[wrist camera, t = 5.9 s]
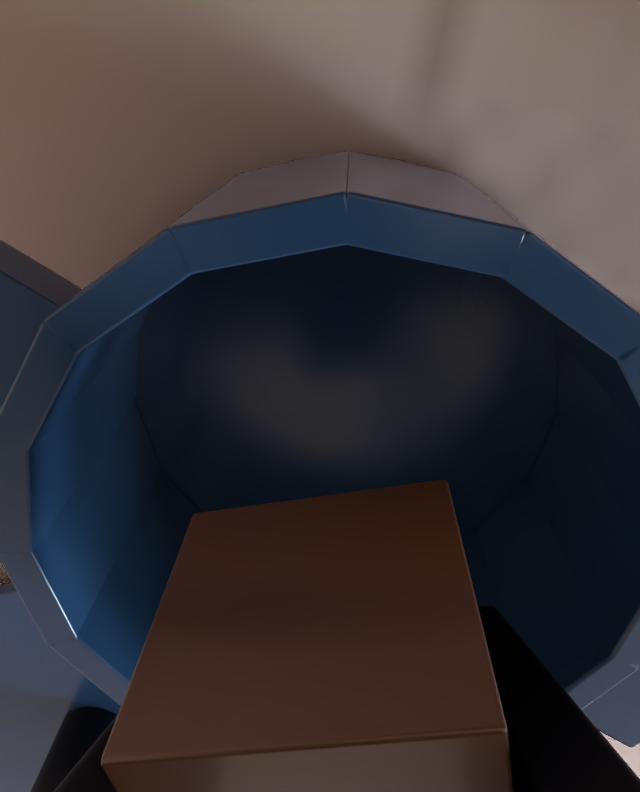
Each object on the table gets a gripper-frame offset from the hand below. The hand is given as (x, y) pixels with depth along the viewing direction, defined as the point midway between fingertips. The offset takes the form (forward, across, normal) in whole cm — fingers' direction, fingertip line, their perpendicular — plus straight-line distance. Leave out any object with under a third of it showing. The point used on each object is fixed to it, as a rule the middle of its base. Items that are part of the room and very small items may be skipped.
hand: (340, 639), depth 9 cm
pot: (+8, 0, 0) cm, 8 cm away
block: (+1, 0, 0) cm, 1 cm away
